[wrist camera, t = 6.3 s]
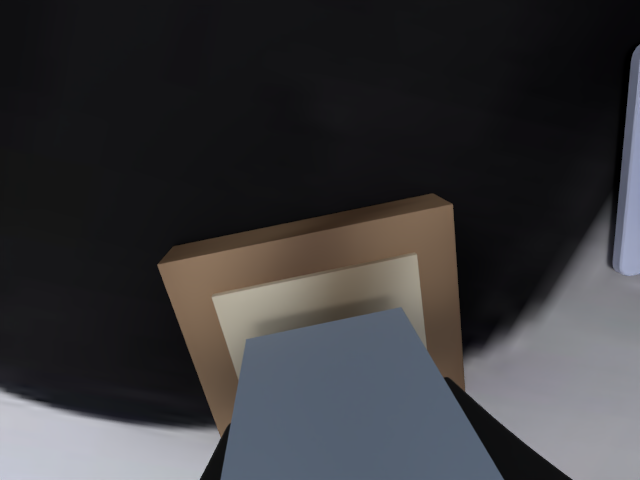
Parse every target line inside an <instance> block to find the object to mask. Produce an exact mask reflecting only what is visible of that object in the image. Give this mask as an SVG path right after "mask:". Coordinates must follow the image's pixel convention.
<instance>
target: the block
mask: <svg viewBox="0 0 640 480" xmlns="http://www.w3.org/2000/svg"><path fill="white" fill-rule="evenodd" d="M221 480H504V479H503V477H502V476H501V474H500V472H499V471H498V469H497V467H496V466H495V464H494V462H493V460H492V459H491V457H490V455H489V454H488V452H487V450H486V449H485V447H484V445H483V444H482V442H481V440H480V439H479V437H478V435H477V434H476V432H475V430H474V429H473V427H472V425H471V423H470V422H469V420H468V418H467V417H466V415H465V413H464V412H463V410H462V408H461V407H460V405H459V403H458V402H457V400H456V398H455V397H454V395H453V393H452V391H451V390H450V388H449V386H448V385H447V383H446V381H445V380H444V378H443V376H442V375H441V373H440V371H439V370H438V368H437V366H436V365H435V363H434V361H433V360H432V358H431V356H430V354H429V353H428V351H427V349H426V348H425V346H424V344H423V343H422V341H421V339H420V338H419V336H418V334H417V333H416V331H415V329H414V328H413V326H412V324H411V322H410V321H409V319H408V317H407V316H406V314H405V312H404V311H403V309H402V307H399V308H394V309H390V310H385V311H380V312H375V313H370V314H365V315H361V316H356V317H351V318H346V319H341V320H337V321H332V322H327V323H322V324H317V325H312V326H308V327H303V328H298V329H293V330H288V331H284V332H279V333H274V334H269V335H264V336H259V337H255V338H250V339H246V343H245V349H244V354H243V360H242V365H241V370H240V376H239V381H238V387H237V392H236V398H235V403H234V409H233V414H232V420H231V425H230V431H229V436H228V442H227V447H226V452H225V458H224V463H223V469H222V474H221Z"/></svg>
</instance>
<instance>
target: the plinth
mask: <svg viewBox="0 0 640 480" xmlns="http://www.w3.org/2000/svg"><path fill="white" fill-rule="evenodd" d="M157 265H158V268H159V271H160V273H161V276H162V279H163V282H164V284H165V287H166V290H167V292H168V295H169V298H170V301H171V303H172V306H173V309H174V311H175V314H176V317H177V320H178V322H179V325H180V328H181V330H182V333H183V336H184V339H185V341H186V344H187V347H188V349H189V352H190V355H191V358H192V360H193V363H194V366H195V368H196V371H197V374H198V377H199V379H200V382H201V385H202V387H203V390H204V393H205V396H206V398H207V401H208V404H209V406H210V409H211V412H212V415H213V417H214V420H215V423H216V425H217V428H218V431H219V434H220V436H221V437H222V435H223V433H224V431H225V429H226V427H227V426H228V425H229V424H230V423H231V420H232V414H233V409H234V403H235V398H236V392H237V387H238V381H239V376H240V370H241V365H242V360H243V354H244V349H245V343H246V339H250V338H255V337H259V336H264V335H269V334H274V333H279V332H284V331H288V330H293V329H298V328H303V327H308V326H312V325H317V324H322V323H327V322H332V321H337V320H341V319H346V318H351V317H356V316H361V315H365V314H370V313H375V312H380V311H385V310H390V309H394V308H399V307H402V309H403V311H404V312H405V314H406V316H407V317H408V319H409V321H410V322H411V324H412V326H413V328H414V329H415V331H416V333H417V334H418V336H419V338H420V339H421V341H422V343H423V344H424V346H425V348H426V349H427V351H428V353H429V354H430V356H431V358H432V360H433V361H434V363H435V365H436V366H437V368H438V370H439V371H440V373H441V375H442V376H443V378H445V377H449V378H450V379H452V380H453V381H454V382H455V383H456V384H457V385H458V386H459V387H460V388H461V389H462V390H463V391H465V383H464V368H463V352H462V337H461V322H460V307H459V292H458V276H457V261H456V246H455V231H454V215H453V204H452V203H450V202H448V201H446V200H444V199H442V198H441V197H439V196H437V195H435V194H433V193H432V194H427V195H422V196H417V197H412V198H408V199H403V200H398V201H393V202H388V203H383V204H378V205H373V206H368V207H364V208H359V209H354V210H349V211H344V212H339V213H334V214H329V215H324V216H320V217H315V218H310V219H305V220H300V221H295V222H290V223H285V224H280V225H275V226H271V227H266V228H261V229H256V230H251V231H246V232H241V233H236V234H231V235H227V236H222V237H217V238H212V239H207V240H202V241H197V242H192V243H187V244H183V245H178V246H173V247H172V248H171V250H170V251H169V252H168V253H167V254H166V255H165V256H164V258H163V259H162V260H161V261H160V262H159V263H158V264H157Z"/></svg>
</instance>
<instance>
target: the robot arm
mask: <svg viewBox="0 0 640 480" xmlns="http://www.w3.org/2000/svg"><path fill="white" fill-rule="evenodd" d="M613 268H614V270H615V271H617V272H619V273H621V274H623V275H625V276H633V275H637V274H640V45H638V46H637V48H636V49H635V51H634V52H633V55H632V59H631V68H630V79H629V89H628V100H627V111H626V122H625V133H624V144H623V155H622V166H621V177H620V188H619V199H618V210H617V220H616V231H615V242H614V253H613ZM444 380H445V381H446V383H447V385H448V386H449V388H450V390H451V391H452V393H453V395H454V397H455V398H456V400H457V402H458V403H459V405H460V407H461V408H462V410H463V412H464V413H465V415H466V417H467V418H468V420H469V422H470V423H471V425H472V427H473V429H474V430H475V432H476V434H477V435H478V437H479V439H480V440H481V442H482V444H483V445H484V447H485V449H486V450H487V452H488V454H489V455H490V457H491V459H492V460H493V462H494V464H495V466H496V467H497V469H498V471H499V472H500V474H501V476H502V477H503V479H504V480H572V479H571V478H569V477H568V476H567V475H565V474H564V473H563V472H561V471H560V470H559V469H557V468H556V467H555V466H553V465H552V464H551V463H549V462H548V461H547V460H545V459H544V458H543V457H541V456H540V455H539V454H538V453H536V452H535V451H534V450H533V449H531V448H530V447H529V446H527V445H526V444H525V443H524V442H523V441H521V440H520V439H519V438H518V437H516V436H515V435H514V434H513V433H512V432H510V431H509V430H508V429H507V428H505V427H504V426H503V425H502V424H501V423H499V422H498V421H497V420H496V419H495V418H494V417H492V416H491V415H490V414H489V413H488V412H487V411H486V410H484V409H483V408H482V407H481V406H480V405H479V404H478V403H477V402H476V401H474V400H473V399H472V398H471V397H470V396H469V395H468V394H467V393H466V392H465V391H463V390H462V389H461V388H460V387H459V386H458V385H457V384H456V383H455V382H454V381H453V380H452V379H450V378H449V377H445V378H444ZM230 425H231V423H230V424H229V425H228V426H227V427H226V429H225V431H224V433H223V435H222V437H221V439H220V441H219V443H218V445H217V447H216V449H215V451H214V453H213V455H212V457H211V459H210V461H209V463H208V465H207V467H206V469H205V471H204V473H203V474H202V476H201V478H200V480H221V474H222V469H223V463H224V458H225V452H226V447H227V442H228V436H229V431H230Z"/></svg>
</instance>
